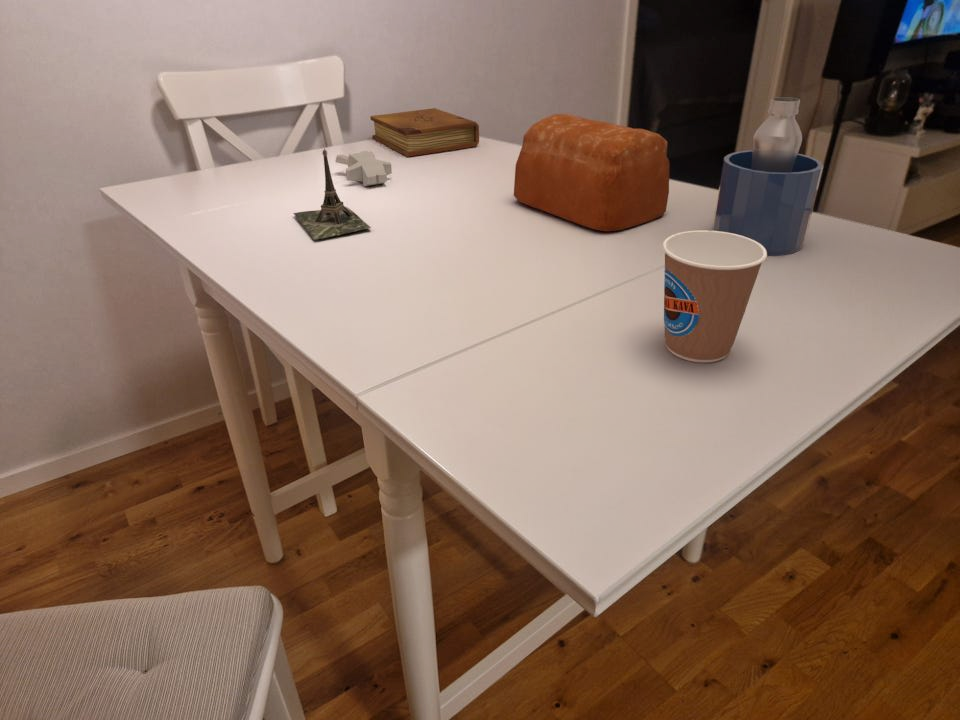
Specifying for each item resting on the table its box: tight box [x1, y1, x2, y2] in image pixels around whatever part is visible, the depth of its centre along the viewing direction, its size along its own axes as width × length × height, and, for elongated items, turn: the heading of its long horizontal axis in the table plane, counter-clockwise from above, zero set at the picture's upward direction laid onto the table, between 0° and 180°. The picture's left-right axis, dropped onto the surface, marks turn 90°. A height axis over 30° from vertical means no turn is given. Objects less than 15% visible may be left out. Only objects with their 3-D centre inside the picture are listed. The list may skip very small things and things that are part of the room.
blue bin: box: [711, 149, 824, 257], centre depth 99 cm, size 13×13×12 cm
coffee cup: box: [662, 229, 768, 364], centre depth 71 cm, size 10×10×12 cm
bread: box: [513, 113, 670, 232], centre depth 113 cm, size 17×24×15 cm
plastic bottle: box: [751, 96, 803, 173], centre depth 97 cm, size 6×7×20 cm
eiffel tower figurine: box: [293, 143, 372, 241], centre depth 110 cm, size 15×10×13 cm
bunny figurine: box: [334, 150, 393, 187], centre depth 135 cm, size 10×5×15 cm
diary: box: [370, 107, 480, 158], centre depth 161 cm, size 23×19×6 cm
